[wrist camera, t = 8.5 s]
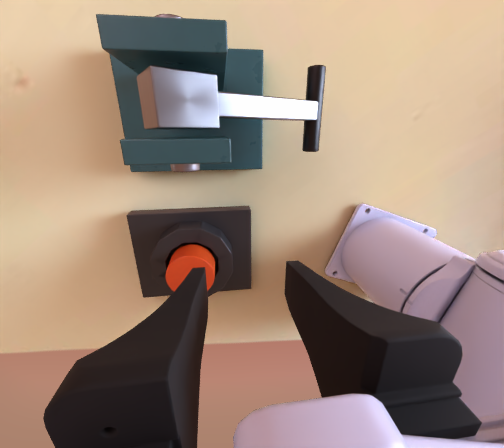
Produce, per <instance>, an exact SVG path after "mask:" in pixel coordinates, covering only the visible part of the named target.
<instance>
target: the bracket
mask: <svg viewBox="0 0 504 448" xmlns="http://www.w3.org/2000/svg"><path fill="white" fill-rule="evenodd" d="M96 18H97V23H98V28H99V33H100V39H101V44H102V48H103V49H104V50H105V51H106V52H108V53H109V54H110V59H111V65H112V70H113V76H114V81H115V87H116V92H117V97H118V103H119V108H120V114H121V119H122V125H123V130H124V136H125V139H121V140H120V143H121V149H122V154H123V159H124V164H125V165H130V169H131V172H152V171H174V172H192V171H198V170H237V169H262V128H263V119H233V118H219V125H220V128H219V129H145V128H144V122H143V116H142V109H141V103H140V96H139V90H138V83H137V76H138V75H139V74H140V73H142V72H143V71H144V70H145V69H146V68H147V67H149V66H150V65H156V66H163V67H170V68H177V69H184V70H191V71H198V72H205V73H212V74H216V75H217V84H218V92H229V93H239V94H249V95H259V96H263V50H252V49H227V22H226V21H225V20H207V19H186V18H182V17H180V16H177V15H172V14H160V15H156V16H155V17H145V16H124V15H103V14H96Z"/></svg>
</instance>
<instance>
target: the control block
mask: <svg viewBox="0 0 504 448" xmlns="http://www.w3.org/2000/svg"><path fill="white" fill-rule="evenodd" d="M127 219H128V224H129V229H130V234H131V239H132V244H133V249H134V254H135V259H136V264H137V269H138V274H139V279H140V284H141V289H142V294H143V297H156V296H168V295H172V294H173V292H174V291H173V290H172V289H171V288H170V287H169V286H168V284H167V281H166V270H167V268H168V265H169V262H170V260H171V257H172V255H173V253H174V252H175V251H176V250H177V249H179V248H180V247H182V246H185V245H189V244H196V245H200V246H203V247H205V248H206V249H208V250H209V251H210V252H211V253H212V255H213V257H214V259H215V279H214V283H213V285H212V286H211V288H210V289H209V290H208V291H207V294H208V297H209V296H210V295H212V294H214V293H216V292H217V291H229V290H241V289H251V210H250V207H249V206H236V207H211V208H187V209H163V210H139V211H131V212H130V213H129V214H127Z"/></svg>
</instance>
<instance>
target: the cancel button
mask: <svg viewBox="0 0 504 448" xmlns="http://www.w3.org/2000/svg"><path fill="white" fill-rule="evenodd" d="M198 267H205V270H206V282H207V291H208V290H209V289H210V288H211V286H212V285H213V283H214V279H215V259H214V257H213V255H212V253H211V252H210V251H209V250H208V249H206V248H205V247H203V246H200V245H196V244H189V245H185V246H182V247H180V248H179V249H177V250H176V251H175V252H174V253H173V255H172V257H171V260H170V262H169V265H168V268H167V270H166V281H167V284H168V286H169V287H170V288H171V289H172V290H173V291H175V290H176V289H177V288H178V286H179V285H180V284H181V283H182V282H183V280H184V279H185V278H186V276H187V275H188V273H189V272H190V271H191V269H192V268H198Z"/></svg>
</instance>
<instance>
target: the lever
mask: <svg viewBox="0 0 504 448" xmlns="http://www.w3.org/2000/svg"><path fill="white" fill-rule="evenodd" d="M325 71H326V67H325V66H323V65H314V66H310V67H308V74H307V89H306V100H300V99H289V98H279V97H269V96H259V95H249V94H239V93H229V92H218V84H217V75H216V74H212V73H205V72H198V71H191V70H184V69H177V68H170V67H163V66H156V65H150V66H149V67H147V68H146V69H145V70H144V71H143V72H142V73H140V74H139V75H138V76H137V83H138V90H139V96H140V103H141V109H142V116H143V122H144V128H145V129H219V128H220V125H219V118H233V119H264V120H296V121H304V134H303V149H302V150H303V151H305V152H316V151H318V150H319V138H320V127H321V116H322V105H323V94H324V83H325Z"/></svg>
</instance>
